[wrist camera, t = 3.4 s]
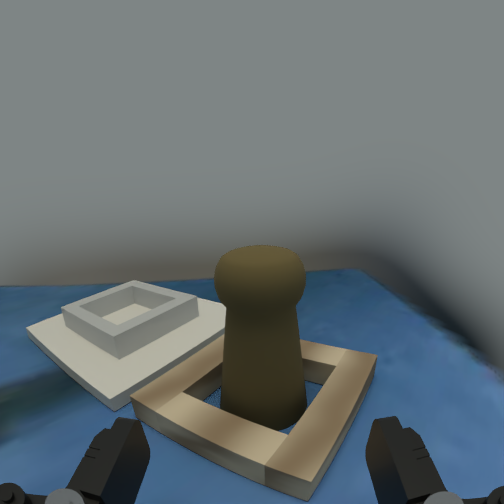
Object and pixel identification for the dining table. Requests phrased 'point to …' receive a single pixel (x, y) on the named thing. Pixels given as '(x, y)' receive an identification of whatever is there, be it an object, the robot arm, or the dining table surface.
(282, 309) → the cork
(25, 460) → the dining table surface
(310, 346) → the tan square frame
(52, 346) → the dock
